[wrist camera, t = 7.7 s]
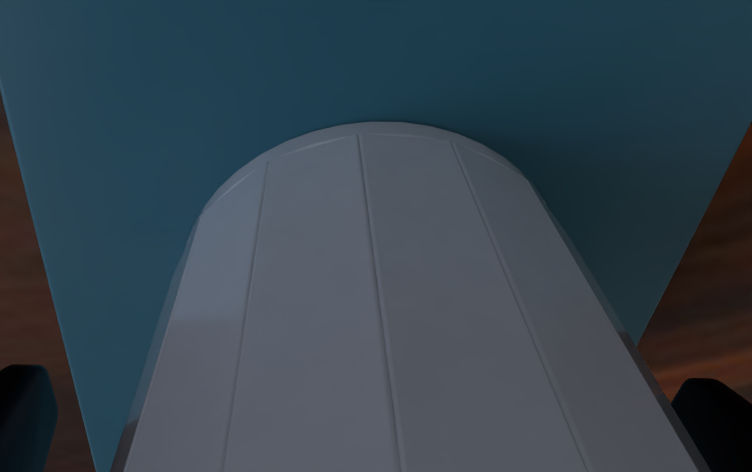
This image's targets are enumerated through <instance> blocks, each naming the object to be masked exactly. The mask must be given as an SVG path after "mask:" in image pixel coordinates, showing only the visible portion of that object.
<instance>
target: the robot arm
mask: <svg viewBox="0 0 752 472" xmlns="http://www.w3.org/2000/svg"><path fill="white" fill-rule="evenodd" d="M671 405H672V407H673V409H674V410H675V412H676V414H677V415H678V417H679V419H680V420H681V422H682V424H683V425H684V427H685V428H686V430H687V432H688V433H689V435H690V437H691V438H692V440H693V442H694V443H695V445H696V447H697V448H698V450H699V452H700V453H701V455H702V456H703V458H704V460H705V461H706V463H707V465H708V466H709V468H710V470H711V471H712V472H752V404H751V403H750V402H748V401H747V400H745V399H744V398H743V397H741V396H740V395H738V394H737V393H736V392H734V391H733V390H731V389H730V388H729V387H727V386H726V385H725V384H723V383H722V382H720V381H718V380H715V379H710V378H691V379H688V380H686V381H685V382H684V383H683V384H682V386H681V387H680V389H679V391H678V392H677V394H676V396H675V397H674V399H673V401H672V402H671ZM57 416H58V408H57V403H56V399H55V396H54V392H53V389H52V385H51V382H50V378H49V375H48V372H47V370H46V369H45V368H44V367H43V366H41V365H20V364H15V365H10V366H7V367H5V368H4V369H2V370H1V371H0V472H43V470H44V466H45V463H46V459H47V456H48V452H49V448H50V445H51V441H52V438H53V434H54V430H55V427H56V423H57Z"/></svg>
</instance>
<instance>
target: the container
mask: <svg viewBox="0 0 752 472" xmlns="http://www.w3.org/2000/svg"><path fill="white" fill-rule="evenodd" d="M0 91H1V95H2V99H3V103H4V107H5V111H6V115H7V119H8V123H9V127H10V131H11V135H12V139H13V143H14V147H15V151H16V155H17V159H18V163H19V167H20V171H21V175H22V179H23V183H24V187H25V191H26V195H27V199H28V203H29V207H30V211H31V215H32V219H33V223H34V227H35V230H36V234H37V238H38V242H39V246H40V250H41V254H42V258H43V262H44V266H45V270H46V274H47V278H48V282H49V286H50V290H51V294H52V298H53V302H54V306H55V310H56V314H57V318H58V322H59V326H60V330H61V334H62V338H63V342H64V346H65V350H66V354H67V358H68V362H69V366H70V370H71V374H72V378H73V382H74V386H75V389H76V393H77V397H78V401H79V405H80V409H81V413H82V417H83V421H84V425H85V429H86V433H87V437H88V441H89V445H90V449H91V453H92V457H93V461H94V465H95V469H96V472H110V470H111V466H112V463H113V460H114V457H115V454H116V451H117V448H118V445H119V442H120V439H121V435H122V432H123V429H124V426H125V423H126V420H127V417H128V414H129V411H130V408H131V404H132V401H133V398H134V395H135V392H136V389H137V386H138V383H139V380H140V377H141V373H142V370H143V367H144V364H145V361H146V358H147V355H148V352H149V349H150V346H151V342H152V339H153V336H154V333H155V330H156V327H157V324H158V321H159V318H160V315H161V311H162V308H163V305H164V302H165V299H166V296H167V293H168V290H169V287H170V284H171V280H172V277H173V274H174V272H175V270H176V268H177V266H178V263H179V261H180V259H181V257H182V255H183V253H184V249H185V246H186V244H187V241H188V238H189V235H190V233H191V230H192V227H193V225H194V224H195V222H196V220H197V218H198V216H199V215H200V213H201V211H202V209H203V208H204V206H205V205H206V204H207V202H208V201H209V200H210V199H211V197H212V196H213V195H214V194H215V192H216V191H217V190H218V189H219V188H220V187H221V186H222V185H223V184H224V183H225V182H226V181H227V180H228V179H229V178H230V177H231V176H232V175H233V174H234V173H236V172H237V171H238V170H239V169H240V168H242V167H243V166H245V165H246V164H248V163H249V162H250V161H252V160H253V159H255V158H256V157H258V156H259V155H261V154H262V153H264V152H266V151H268V150H270V149H272V148H274V147H276V146H278V145H280V144H282V143H284V142H286V141H288V140H291V139H294V138H296V137H299V136H302V135H305V134H307V133H310V132H313V131H317V130H321V129H325V128H330V127H334V126H338V125H343V124H353V123H362V122H371V121H374V122H405V123H412V124H419V125H427V126H432V127H436V128H439V129H443V130H447V131H450V132H454V133H457V134H460V135H462V136H465V137H467V138H469V139H472V140H474V141H476V142H479V143H481V144H483V145H485V146H486V147H488V148H490V149H491V150H493V151H495V152H496V153H498V154H500V155H501V156H503V157H504V158H506V159H507V160H508V161H509V162H510V163H512V164H513V165H514V166H515V167H516V168H518V169H519V170H520V171H521V172H522V173H523V174H524V175H525V176H526V177H527V178H528V179H529V181H530V182H531V183H532V184H533V185H534V186H535V187H536V189H537V190H538V191H539V193H540V195H541V196H542V198H543V199H544V201H545V203H546V204H547V206H548V208H549V209H550V211H551V212H552V213H553V215H554V216H555V217H556V219H557V220H558V221H559V223H560V224H561V225H562V227H563V228H564V229H565V231H566V232H567V234H568V236H569V237H570V239H571V241H572V242H573V244H574V246H575V247H576V249H577V250H578V252H579V254H580V255H581V257H582V259H583V260H584V262H585V264H586V265H587V267H588V269H589V270H590V272H591V274H592V275H593V277H594V278H595V280H596V282H597V283H598V285H599V287H600V288H601V290H602V292H603V293H604V295H605V297H606V298H607V300H608V302H609V303H610V305H611V307H612V308H613V310H614V311H615V313H616V315H617V316H618V318H619V320H620V321H621V323H622V325H623V326H624V328H625V330H626V331H627V333H628V335H629V336H630V338H631V339H632V341H633V343H634V344H635V346H637V344H638V342H639V340H640V338H641V336H642V334H643V332H644V330H645V328H646V326H647V325H648V323H649V321H650V319H651V317H652V315H653V313H654V311H655V309H656V307H657V305H658V303H659V301H660V299H661V297H662V295H663V293H664V291H665V290H666V288H667V286H668V284H669V282H670V280H671V278H672V276H673V274H674V272H675V270H676V268H677V266H678V264H679V262H680V260H681V258H682V256H683V254H684V253H685V251H686V249H687V247H688V245H689V243H690V241H691V239H692V237H693V235H694V233H695V231H696V229H697V227H698V225H699V223H700V221H701V219H702V217H703V216H704V214H705V212H706V210H707V208H708V206H709V204H710V202H711V200H712V198H713V196H714V194H715V192H716V190H717V188H718V186H719V184H720V182H721V180H722V179H723V177H724V175H725V173H726V171H727V169H728V167H729V165H730V163H731V161H732V159H733V157H734V155H735V153H736V151H737V149H738V147H739V145H740V143H741V142H742V140H743V138H744V136H745V134H746V132H747V130H748V128H749V126H750V124H751V122H752V0H0Z"/></svg>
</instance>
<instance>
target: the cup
mask: <svg viewBox="0 0 752 472" xmlns="http://www.w3.org/2000/svg"><path fill="white" fill-rule="evenodd" d="M110 472H712V471H711V470H710V468H709V466H708V465H707V463H706V461H705V460H704V458H703V456H702V455H701V453H700V452H699V450H698V448H697V447H696V445H695V443H694V442H693V440H692V438H691V437H690V435H689V433H688V432H687V430H686V428H685V427H684V425H683V424H682V422H681V420H680V419H679V417H678V415H677V414H676V412H675V410H674V409H673V407H672V405H671V404H670V402H669V400H668V399H667V397H666V396H665V394H664V392H663V391H662V389H661V387H660V386H659V384H658V382H657V381H656V379H655V377H654V376H653V374H652V372H651V371H650V369H649V367H648V366H647V364H646V363H645V361H644V359H643V358H642V356H641V354H640V353H639V351H638V349H637V348H636V346H635V344H634V343H633V341H632V339H631V338H630V336H629V335H628V333H627V331H626V330H625V328H624V326H623V325H622V323H621V321H620V320H619V318H618V316H617V315H616V313H615V311H614V310H613V308H612V307H611V305H610V303H609V302H608V300H607V298H606V297H605V295H604V293H603V292H602V290H601V288H600V287H599V285H598V283H597V282H596V280H595V278H594V277H593V275H592V274H591V272H590V270H589V269H588V267H587V265H586V264H585V262H584V260H583V259H582V257H581V255H580V254H579V252H578V250H577V249H576V247H575V246H574V244H573V242H572V241H571V239H570V237H569V236H568V234H567V232H566V231H565V229H564V228H563V227H562V225H561V224H560V223H559V221H558V220H557V219H556V217H555V216H554V215H553V213H552V212H551V211H550V209H549V208H548V206H547V204H546V203H545V201H544V199H543V198H542V196H541V195H540V193H539V191H538V190H537V189H536V187H535V186H534V185H533V184H532V183H531V182H530V181H529V179H528V178H527V177H526V176H525V175H524V174H523V173H522V172H521V171H520V170H519V169H518V168H516V167H515V166H514V165H513V164H512V163H510V162H509V161H508V160H507V159H506V158H504V157H503V156H501V155H500V154H498V153H496V152H495V151H493V150H491V149H490V148H488V147H486V146H485V145H483V144H481V143H479V142H476V141H474V140H472V139H469V138H467V137H465V136H462V135H460V134H457V133H454V132H450V131H447V130H443V129H439V128H436V127H432V126H427V125H419V124H412V123H405V122H374V121H371V122H362V123H353V124H343V125H338V126H334V127H330V128H325V129H321V130H317V131H313V132H310V133H307V134H305V135H302V136H299V137H296V138H294V139H291V140H288V141H286V142H284V143H282V144H280V145H278V146H276V147H274V148H272V149H270V150H268V151H266V152H264V153H262V154H261V155H259V156H258V157H256V158H255V159H253V160H252V161H250V162H249V163H248V164H246V165H245V166H243V167H242V168H240V169H239V170H238V171H237V172H236V173H234V174H233V175H232V176H231V177H230V178H229V179H228V180H227V181H226V182H225V183H224V184H223V185H222V186H221V187H220V188H219V189H218V190H217V191H216V192H215V194H214V195H213V196H212V197H211V199H210V200H209V201H208V202H207V204H206V205H205V206H204V208H203V209H202V211H201V213H200V215H199V216H198V218H197V220H196V222H195V224H194V225H193V227H192V230H191V233H190V235H189V238H188V241H187V244H186V246H185V249H184V253H183V255H182V257H181V259H180V261H179V263H178V266H177V268H176V270H175V272H174V274H173V277H172V280H171V284H170V287H169V290H168V293H167V296H166V299H165V302H164V305H163V308H162V311H161V315H160V318H159V321H158V324H157V327H156V330H155V333H154V336H153V339H152V342H151V346H150V349H149V352H148V355H147V358H146V361H145V364H144V367H143V370H142V373H141V377H140V380H139V383H138V386H137V389H136V392H135V395H134V398H133V401H132V404H131V408H130V411H129V414H128V417H127V420H126V423H125V426H124V429H123V432H122V435H121V439H120V442H119V445H118V448H117V451H116V454H115V457H114V460H113V463H112V466H111V470H110Z"/></svg>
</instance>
